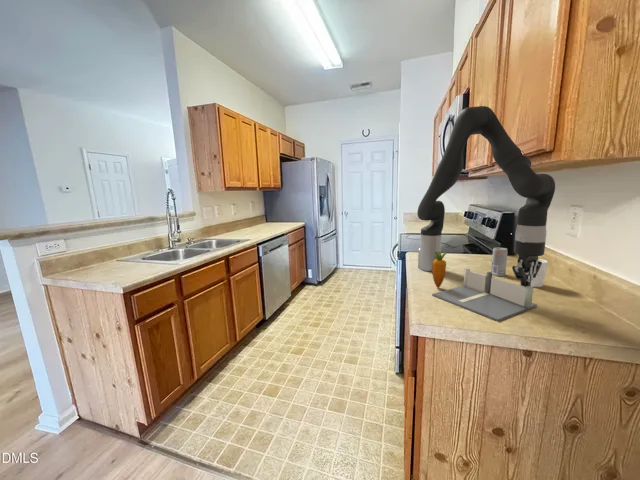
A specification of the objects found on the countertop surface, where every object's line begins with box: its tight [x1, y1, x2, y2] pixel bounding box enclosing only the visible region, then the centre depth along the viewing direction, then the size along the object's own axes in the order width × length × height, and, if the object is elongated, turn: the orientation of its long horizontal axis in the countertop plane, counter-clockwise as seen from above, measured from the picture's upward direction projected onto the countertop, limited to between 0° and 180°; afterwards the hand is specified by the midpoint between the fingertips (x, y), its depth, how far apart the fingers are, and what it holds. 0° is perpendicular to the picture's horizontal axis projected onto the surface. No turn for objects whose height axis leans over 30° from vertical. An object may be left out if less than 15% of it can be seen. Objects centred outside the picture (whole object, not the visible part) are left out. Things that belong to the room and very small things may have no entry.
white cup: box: [531, 258, 549, 288], centre depth 103 cm, size 8×8×10 cm
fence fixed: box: [462, 267, 493, 294], centre depth 98 cm, size 10×2×8 cm, turn 26°
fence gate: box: [490, 276, 534, 309], centre depth 87 cm, size 13×2×7 cm, turn 18°
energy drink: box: [490, 246, 509, 277], centre depth 117 cm, size 5×5×12 cm
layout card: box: [431, 285, 538, 322], centre depth 90 cm, size 23×21×1 cm
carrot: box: [431, 250, 447, 289], centre depth 102 cm, size 5×5×15 cm
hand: (524, 291), depth 85 cm, fingers closed
